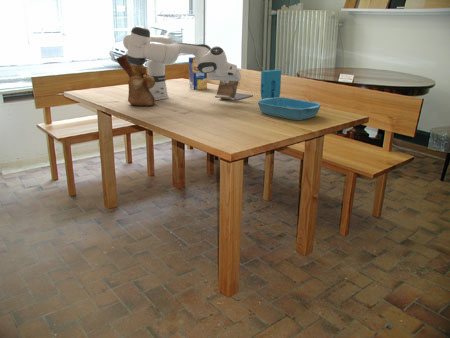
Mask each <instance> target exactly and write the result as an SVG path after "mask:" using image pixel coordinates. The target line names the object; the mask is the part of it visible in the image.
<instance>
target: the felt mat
mask: <svg viewBox="0 0 450 338" xmlns="http://www.w3.org/2000/svg"><path fill="white" fill-rule="evenodd" d="M253 96H254V95H253V94H246V93H238V92H236V94H235V98H234V100H233V101H239V100H243V99H247V98H250V97H253ZM214 98H220V97H218V96H216V95H215V96H214ZM220 99H221V98H220Z"/></svg>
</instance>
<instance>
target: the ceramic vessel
mask: <svg viewBox="0 0 450 338" xmlns="http://www.w3.org/2000/svg"><path fill="white" fill-rule="evenodd" d="M116 61H117V64H119V66H120V67H121V68H122V69H123V70H124V72H125V73H126V74H127V75H128V79H129V80H128V95H127V96H128V98H127V102H128V103H129V104H130V105H131V106H153V105H155V101H156V100H155V99H154V96H153V95H152V93H151V92H150V90H149V89H150V88H152V87H153V86H154V85H155V79H154V78H153V77H152V76H149V75H148V72H147V66H145V65H144V64H142V65H138V66H136V65H132V64H131V63H129V62H128V61H127V53H126V54H123V55H121V56H119V57H116Z"/></svg>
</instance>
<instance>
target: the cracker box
mask: <svg viewBox="0 0 450 338" xmlns="http://www.w3.org/2000/svg"><path fill="white" fill-rule="evenodd" d="M188 75H189V76H188V77H189V78H188V80H189V89H191V90H193V91H194V90H195V91H196V90H204V89H208V73H201V72H200V71H198V69H197V63H196V57H195V56H192V57H191V56H190V57H188Z"/></svg>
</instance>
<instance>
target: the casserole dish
mask: <svg viewBox="0 0 450 338" xmlns="http://www.w3.org/2000/svg"><path fill="white" fill-rule="evenodd" d="M257 104H258V107H259V110H260V112H261V113H262V114H265V115H269V116H273V117H279V118H281V119H282V118H283V119H288V120H294V121H302V120H306V119H307V120H308V119H311V118H314V117H315V116H317V114H318V113H319V110H320V107H321V103H320V102H315V101H308V100H302V99H296V98H290V97H283V96H282V97H281V96H279V97H275V98H265V99H262V98H261V99H259V100H258V101H257Z"/></svg>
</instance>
